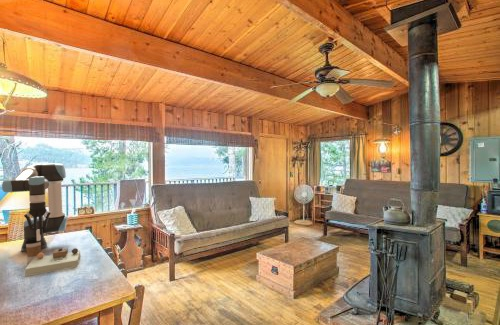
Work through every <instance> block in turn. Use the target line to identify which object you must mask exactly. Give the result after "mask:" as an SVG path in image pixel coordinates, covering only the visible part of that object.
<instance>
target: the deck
mask: <svg viewBox="0 0 500 325" xmlns="http://www.w3.org/2000/svg"><path fill="white" fill-rule="evenodd" d="M80 259H81V250H78V252H77V253H76V254H73V253H72V251H71V252H68V253H67V255H66V256H60V257H54V258H53V254H51V255H44V256H43V257H42V258H33V260H32V261H31V262H28V265H27V266H26V267H25V268H24V276H25V277H26V276H33V275H40V274H44V273H49V272H55V271H60V270H66V269H72V268H77V267H78V265H79V262H80ZM57 260H59V261H57Z"/></svg>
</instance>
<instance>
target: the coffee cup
mask: <svg viewBox="0 0 500 325" xmlns="http://www.w3.org/2000/svg"><path fill="white" fill-rule="evenodd" d="M41 241H42V240H40V241H37V237H35V238H29V239H27V240H26V242H25V244H26V250H27V252H26V255H27V262H28V263H30V262H31V261H32V260H33V258H37V254H39V253H41V250H42V249H41Z"/></svg>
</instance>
